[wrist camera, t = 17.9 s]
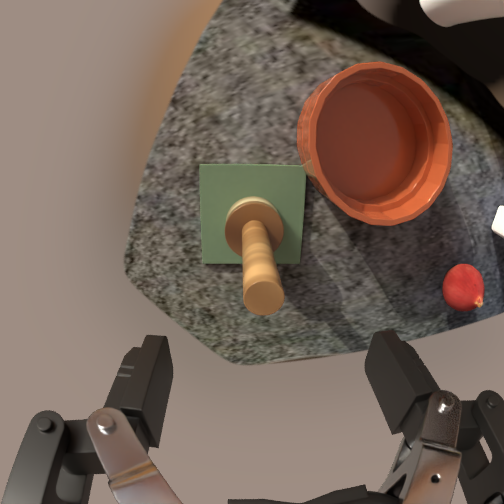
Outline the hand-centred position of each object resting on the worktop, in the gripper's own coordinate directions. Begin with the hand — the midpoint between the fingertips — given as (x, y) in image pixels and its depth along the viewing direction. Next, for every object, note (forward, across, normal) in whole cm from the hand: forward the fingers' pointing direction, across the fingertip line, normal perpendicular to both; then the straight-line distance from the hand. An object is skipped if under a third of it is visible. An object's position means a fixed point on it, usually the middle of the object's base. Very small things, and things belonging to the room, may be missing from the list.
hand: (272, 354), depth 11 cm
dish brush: (+19, 0, +1) cm, 19 cm away
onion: (+20, -26, +7) cm, 33 cm away
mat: (+20, 0, 0) cm, 20 cm away
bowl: (+20, -11, -8) cm, 24 cm away
